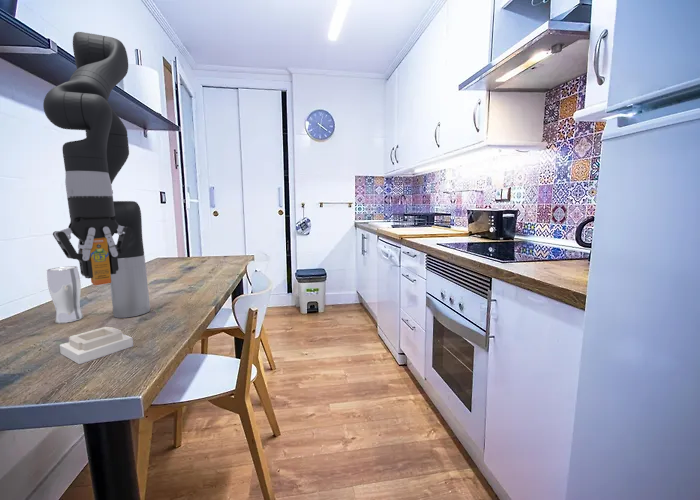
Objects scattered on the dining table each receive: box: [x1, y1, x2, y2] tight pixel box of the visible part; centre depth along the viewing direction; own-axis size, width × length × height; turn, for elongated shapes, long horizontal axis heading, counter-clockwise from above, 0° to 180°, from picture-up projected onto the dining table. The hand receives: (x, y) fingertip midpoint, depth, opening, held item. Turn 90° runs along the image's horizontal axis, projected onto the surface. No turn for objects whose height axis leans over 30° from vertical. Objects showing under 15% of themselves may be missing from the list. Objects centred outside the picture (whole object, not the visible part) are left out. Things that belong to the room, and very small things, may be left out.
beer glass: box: [46, 265, 84, 325], centre depth 93 cm, size 7×7×15 cm
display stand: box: [59, 326, 134, 365], centre depth 73 cm, size 10×10×4 cm
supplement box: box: [89, 237, 111, 286], centre depth 70 cm, size 3×3×10 cm
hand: (100, 275), depth 71 cm, fingers closed on supplement box, 3 cm apart
